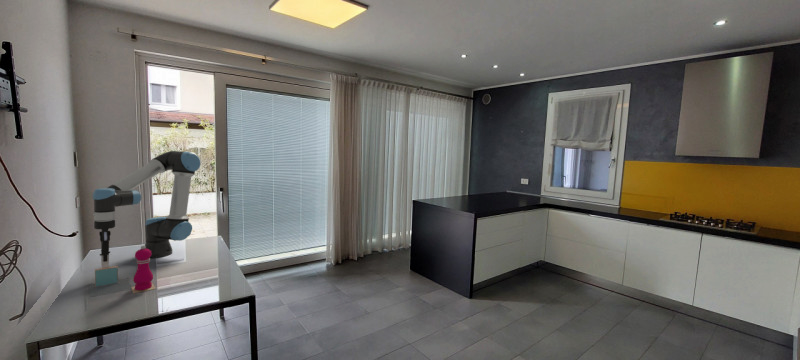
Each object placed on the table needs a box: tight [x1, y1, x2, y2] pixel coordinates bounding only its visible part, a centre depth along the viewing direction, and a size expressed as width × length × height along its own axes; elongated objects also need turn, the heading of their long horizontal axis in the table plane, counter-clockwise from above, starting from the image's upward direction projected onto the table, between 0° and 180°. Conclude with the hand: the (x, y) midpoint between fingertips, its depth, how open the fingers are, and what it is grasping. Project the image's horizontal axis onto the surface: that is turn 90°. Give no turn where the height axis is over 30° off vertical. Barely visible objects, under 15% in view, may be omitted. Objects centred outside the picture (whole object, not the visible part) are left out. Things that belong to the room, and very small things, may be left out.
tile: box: [94, 265, 119, 287], centre depth 151 cm, size 8×2×8 cm, turn 135°
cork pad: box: [131, 282, 156, 294], centre depth 149 cm, size 8×8×1 cm
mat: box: [88, 277, 132, 298], centre depth 149 cm, size 14×17×1 cm
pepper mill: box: [132, 245, 154, 290], centre depth 149 cm, size 7×7×20 cm
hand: (105, 267), depth 158 cm, fingers closed
